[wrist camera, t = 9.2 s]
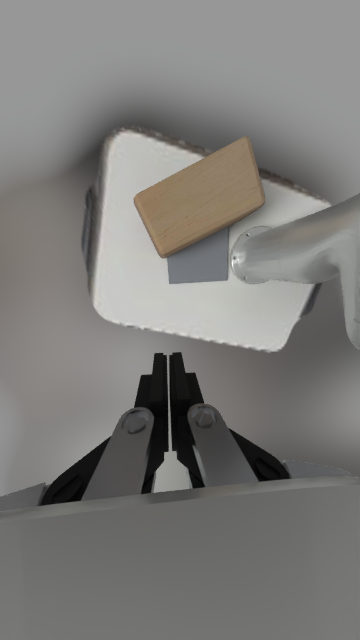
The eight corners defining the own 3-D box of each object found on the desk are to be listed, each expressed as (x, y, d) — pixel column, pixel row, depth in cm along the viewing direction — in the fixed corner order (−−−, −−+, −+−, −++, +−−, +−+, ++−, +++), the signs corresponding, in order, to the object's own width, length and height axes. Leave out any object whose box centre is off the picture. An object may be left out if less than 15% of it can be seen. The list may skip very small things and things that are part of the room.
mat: (228, 204, 36) (229, 203, 36) (226, 280, 41) (226, 280, 41) (163, 206, 35) (163, 206, 35) (169, 283, 40) (169, 284, 40)
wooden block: (161, 260, 38) (242, 219, 37) (160, 257, 29) (269, 202, 27) (139, 214, 35) (227, 168, 34) (129, 194, 26) (251, 129, 24)
